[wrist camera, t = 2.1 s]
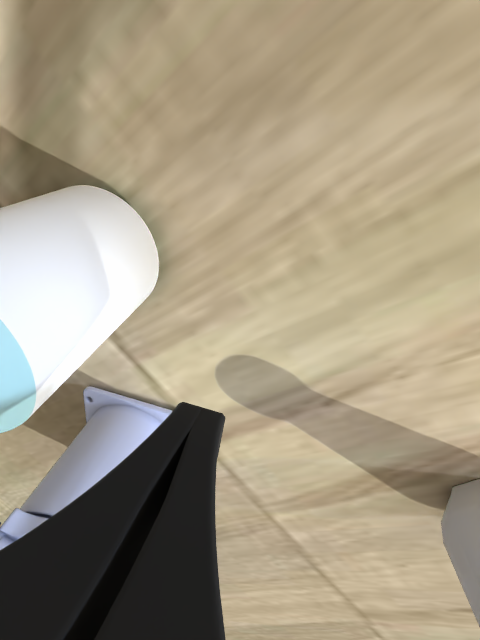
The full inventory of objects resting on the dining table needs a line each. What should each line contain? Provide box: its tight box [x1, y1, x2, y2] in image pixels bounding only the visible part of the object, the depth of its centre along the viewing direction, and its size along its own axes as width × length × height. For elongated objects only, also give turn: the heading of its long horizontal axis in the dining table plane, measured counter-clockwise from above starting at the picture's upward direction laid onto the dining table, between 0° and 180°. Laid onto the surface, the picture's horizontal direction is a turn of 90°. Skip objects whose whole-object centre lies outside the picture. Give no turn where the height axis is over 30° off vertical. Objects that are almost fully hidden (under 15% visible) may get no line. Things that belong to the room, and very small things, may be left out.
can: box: [0, 185, 159, 433], centre depth 15 cm, size 7×7×12 cm
